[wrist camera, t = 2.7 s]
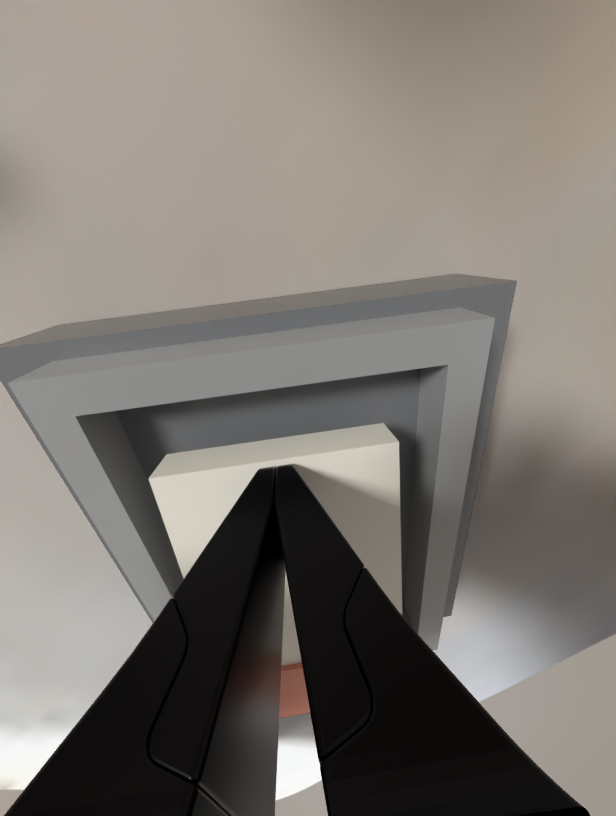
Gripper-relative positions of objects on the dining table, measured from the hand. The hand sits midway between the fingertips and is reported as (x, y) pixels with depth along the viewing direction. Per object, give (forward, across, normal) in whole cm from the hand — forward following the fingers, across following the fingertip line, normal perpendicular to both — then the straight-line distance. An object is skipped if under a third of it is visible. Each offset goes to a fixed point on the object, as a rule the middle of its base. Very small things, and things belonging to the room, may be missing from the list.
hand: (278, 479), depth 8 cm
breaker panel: (+5, 0, +4) cm, 7 cm away
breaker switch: (0, 0, +4) cm, 4 cm away
